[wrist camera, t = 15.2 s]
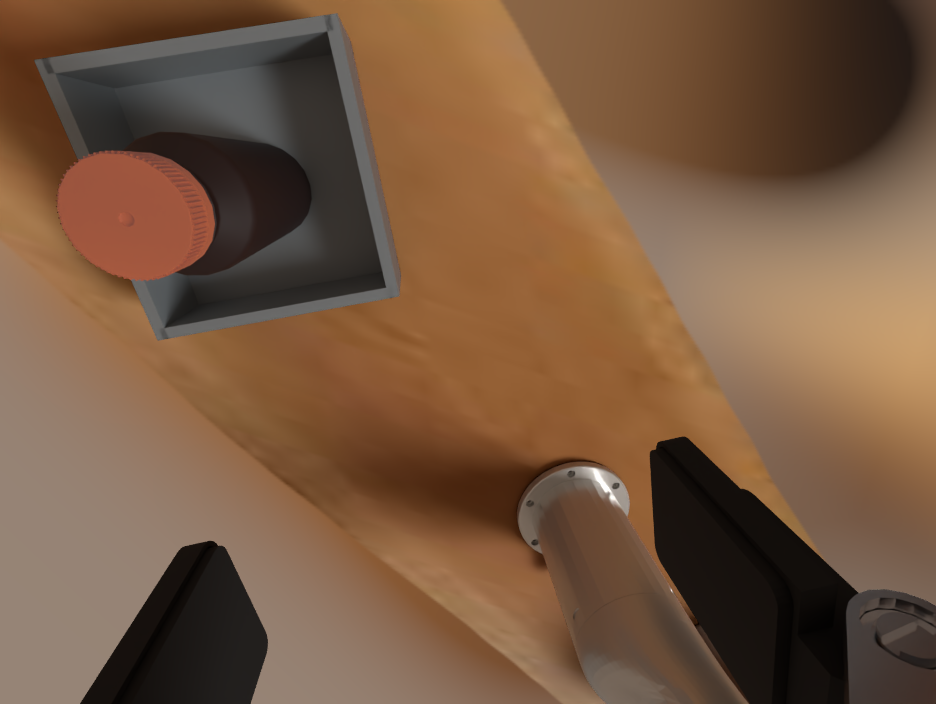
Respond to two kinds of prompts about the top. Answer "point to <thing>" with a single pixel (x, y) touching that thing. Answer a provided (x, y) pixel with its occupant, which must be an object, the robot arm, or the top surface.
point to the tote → (256, 120)
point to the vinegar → (181, 204)
